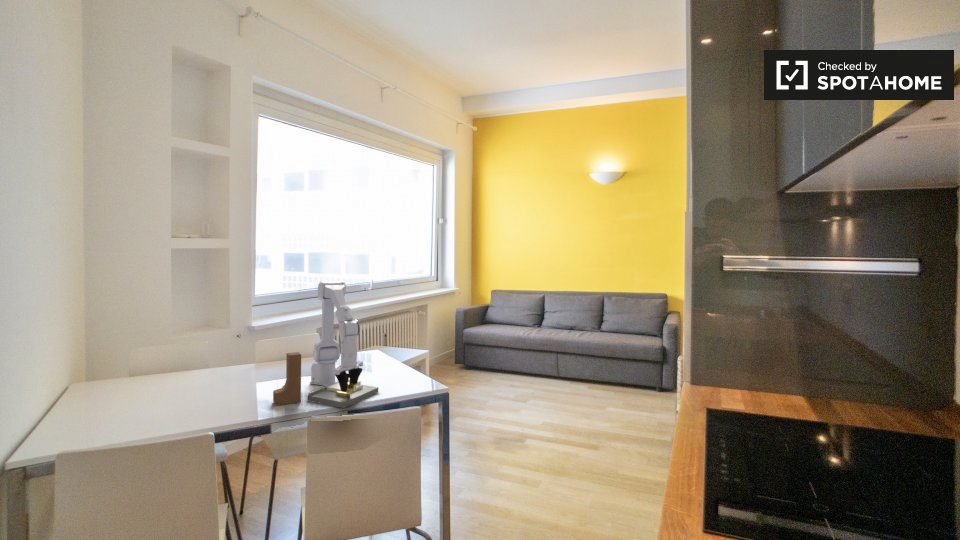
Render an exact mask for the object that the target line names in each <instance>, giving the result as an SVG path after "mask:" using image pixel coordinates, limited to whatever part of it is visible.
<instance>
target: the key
mask: <svg viewBox="0 0 960 540" xmlns="http://www.w3.org/2000/svg"><path fill="white" fill-rule="evenodd" d="M350 391H356V384H353V383H348V386H347V393H346V392H341V391H336V394H335V395H340V396H345V397H347V398H350Z"/></svg>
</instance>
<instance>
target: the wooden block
mask: <svg viewBox="0 0 960 540" xmlns="http://www.w3.org/2000/svg"><path fill="white" fill-rule="evenodd" d="M285 375H286V377H285V378H286V379H285V383H284V385H283V386H281V388H277V389H274V390H273V392H272V395H273V397H272V402H273V404H274V406H282V404H284V405H289V403H291V404H296V403H297V402H299V403H301V401H302V354H301V353H300V352H298V351H295V352H288V353H286V374H285ZM297 404H298V403H297Z"/></svg>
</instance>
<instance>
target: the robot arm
mask: <svg viewBox="0 0 960 540" xmlns="http://www.w3.org/2000/svg"><path fill="white" fill-rule="evenodd" d="M346 292H347V285H346V282H344V280H340V281H339V280H338V281H337V280H336V281H333V280H332V281H330V280H329V281H323V280H321V281H320V282H318V286H317V299H318V300H319V301H321V338H320V339H319V340H318V341H316V342H315V343H314V344H313V346H314V347H313V350H312V356H313V360H314V361H313V363H312V364H311V368H310V372H311V373H310V382H309V384H312V385H318V386H323V387H325V386H328V385H330V384H333V383H336V382H339V385H340V388H341V391H343V392H346V391H347V386H348V380H349V379H350V383H353V384H356V385H357V381H359V377H360V376H361V374H362V372H363V366H364V361H363V360H358V336H360V334H361V325H360V322H359V320H358V319H356V318H354V314H353V312H352V310H351V308H350V307H349V306H347V304H346V300H345V295H346ZM335 308H336V311H335ZM335 316H336V319H337V321H338V325H339V326H338V332H339V333H338V334H339V339H340V340H339V341H340V343H341V344H339V342H338V341H337V340H336V339H334V328H335V326H334V325H335ZM340 346H341V347H340ZM339 359H340V364H339V365H338V366H337V367H336V363H337V362H338V361H339ZM347 372H348V373H347Z"/></svg>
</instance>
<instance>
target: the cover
mask: <svg viewBox="0 0 960 540" xmlns="http://www.w3.org/2000/svg"><path fill="white" fill-rule="evenodd" d="M361 382H362V381H361V380H358V381H357V385H356V390H359V389H361V388H363V385H364V384H362V383H361ZM348 383H350V378H349V380H348ZM327 390H330V391H335V392H336V391H341V388H340V385H339V383H336V384H334V385H331V386H328V387H327ZM341 392H343V391H341ZM351 392H354V391H350V393H351ZM346 393H347V391H346Z"/></svg>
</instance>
